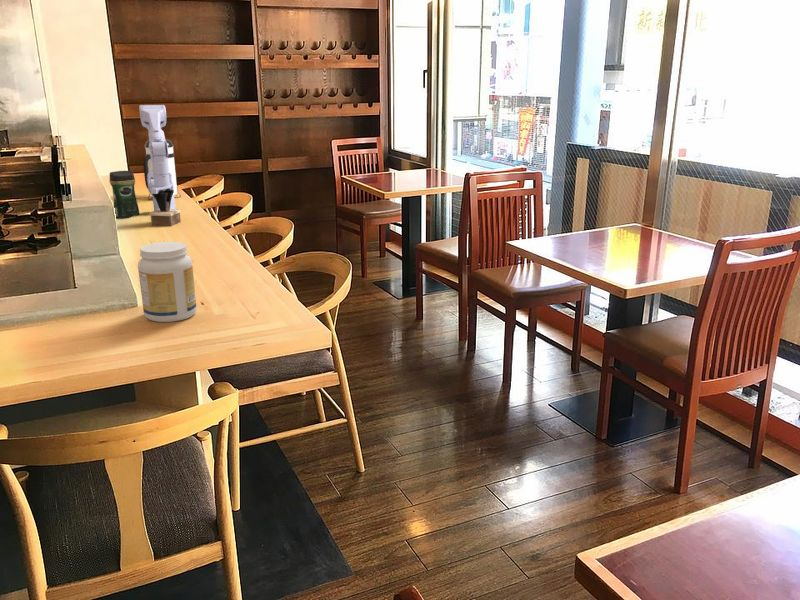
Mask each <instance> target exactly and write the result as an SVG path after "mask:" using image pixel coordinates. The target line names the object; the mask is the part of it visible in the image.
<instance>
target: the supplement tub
mask: <svg viewBox="0 0 800 600" xmlns="http://www.w3.org/2000/svg"><path fill="white" fill-rule="evenodd" d="M139 251H140V252H139V256H140V257H141V258H140V259H139V261H138V264H137V269H138V271H137V272H138V278H139V286H140V293H141V302H142V308H143V315H144V317H145V318H146V319H148V320H150V321H153V322H155V323H174V322H179V321H182V320H183V321H184V320H186V319H188V318H191V317H193V316H194V315H195V314H196V312H197V309H198V307H197V298H196V297H197V296H196V289H195V288H196V287H195V277H194V269H193V268H194V266H193V261H192V258H191V256H189V255H188V254H187V253H188V247H187V244H186V243H184V242H181V241H180V242H179V241H178V242H177V241H159V242H152V243H149V244H145V245H142V246H141V247H140V248H139Z"/></svg>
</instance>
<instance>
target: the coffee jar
mask: <svg viewBox="0 0 800 600" xmlns="http://www.w3.org/2000/svg"><path fill="white" fill-rule="evenodd" d="M109 184H110V186H111V188H112V195H113V196H112V198H113V201H112V202H113V209H114V208H115V214H116V217H115V218H117V219H118V218H119V219H129V218H133V217H137V216H139V215H140V208H139V204H138V200H137V196H136V190H135V184H136V178H135V175H134V172H133V171H132V170H117V171H110V172H109Z"/></svg>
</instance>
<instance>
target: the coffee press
mask: <svg viewBox="0 0 800 600" xmlns="http://www.w3.org/2000/svg"><path fill="white" fill-rule="evenodd" d="M165 140H166V142H167V145H168V156H167V154H166V157H167V158H168V167H169V172H170V173H171V174H172V180H173V184H174V188H173V190H174V193H173V195H174V196H176V197H178V198H181V197H182V194H179V196H178V193H179V190H178V189H179V188H178V180H177V170H176V161H175V152H174V144H173V142H172V141H171V140H170V139H166V138H165ZM149 143H150V142H149V139H148V140H147V141H146V142H145V144H144V145H143V146H144V148H145V157H144V159H143V174H144V175H143V176H144V181H145V186H146V188H147V189H148V182H147V175H148V173H149V172H150V171H151V170H153V167H152V161H151V156H150V151H149ZM153 177H154V176H153ZM151 178H152V177H151ZM147 199H148V201H149V200H153V197H152V194H151V193H150V192H149V194H148V196H147Z"/></svg>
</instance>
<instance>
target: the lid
mask: <svg viewBox="0 0 800 600" xmlns="http://www.w3.org/2000/svg"><path fill="white" fill-rule="evenodd" d="M177 213H180V214H181V213H182V209H179V208H176V209H170V207H169V202H168V201H166V211H160V209H158V210H155V211H154V210H153V211H151V212H148V216H150V217H151V216H173V215H175V214H177Z"/></svg>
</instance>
